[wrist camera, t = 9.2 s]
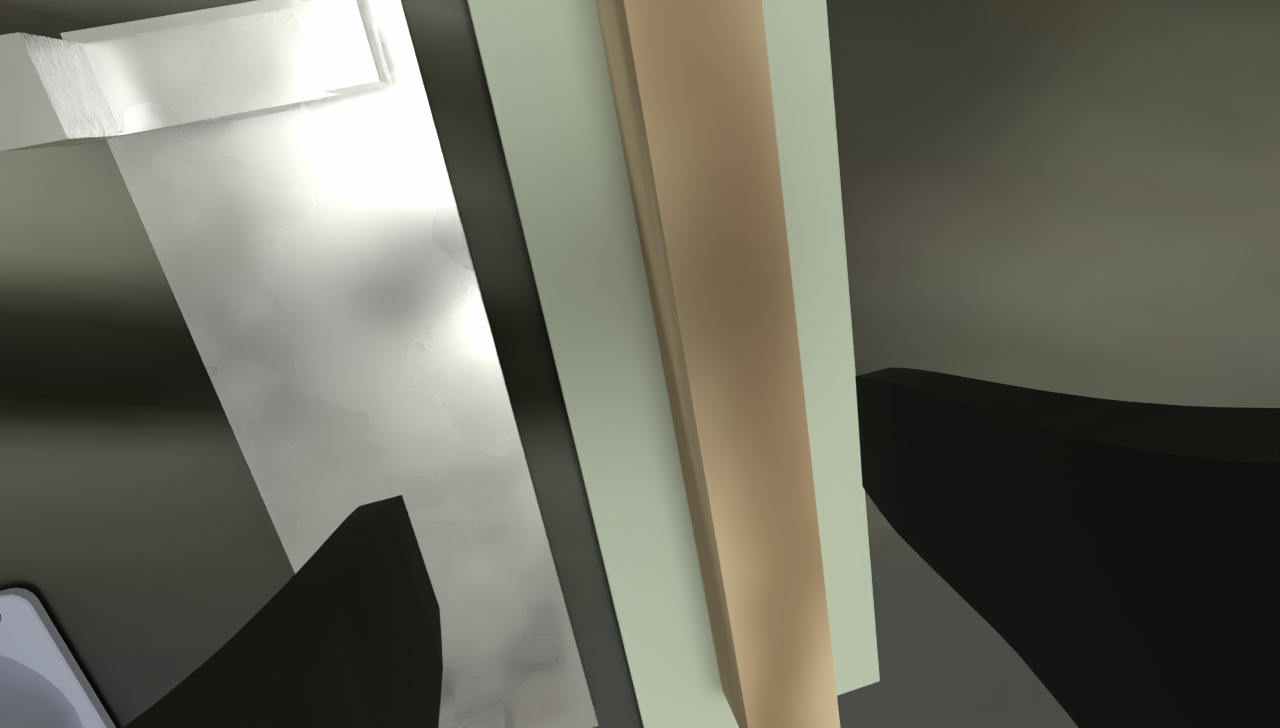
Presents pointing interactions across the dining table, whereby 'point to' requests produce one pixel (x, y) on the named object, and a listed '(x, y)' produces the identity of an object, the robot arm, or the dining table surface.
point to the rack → (329, 301)
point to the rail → (728, 339)
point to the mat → (628, 344)
